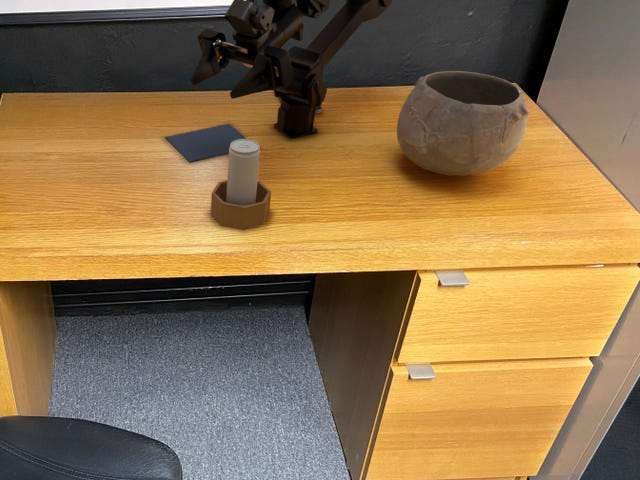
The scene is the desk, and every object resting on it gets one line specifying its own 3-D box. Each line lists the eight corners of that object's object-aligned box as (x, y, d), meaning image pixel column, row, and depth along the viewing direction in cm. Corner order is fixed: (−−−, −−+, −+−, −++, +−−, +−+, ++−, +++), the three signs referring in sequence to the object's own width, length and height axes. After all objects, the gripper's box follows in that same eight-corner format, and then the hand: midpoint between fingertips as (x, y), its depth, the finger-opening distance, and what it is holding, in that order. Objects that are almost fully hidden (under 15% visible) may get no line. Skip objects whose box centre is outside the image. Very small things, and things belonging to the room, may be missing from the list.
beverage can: (252, 222, 113) (258, 154, 105) (223, 219, 114) (226, 151, 105) (256, 207, 116) (262, 139, 108) (227, 204, 117) (231, 137, 109)
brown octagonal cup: (250, 195, 119) (252, 173, 116) (277, 220, 113) (279, 198, 110) (203, 206, 116) (204, 185, 114) (228, 233, 111) (229, 211, 108)
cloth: (228, 125, 139) (228, 123, 139) (255, 147, 132) (255, 146, 132) (165, 138, 135) (165, 136, 135) (189, 162, 128) (189, 161, 128)
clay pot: (374, 143, 133) (391, 64, 123) (479, 139, 135) (504, 59, 124) (411, 199, 118) (433, 114, 108) (529, 193, 119) (562, 108, 109)
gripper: (220, -23, 116) (157, 34, 113) (307, -5, 105) (240, 58, 102) (236, 37, 125) (178, 91, 122) (318, 59, 114) (256, 119, 111)
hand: (210, 89), depth 114 cm, fingers open, 9 cm apart
